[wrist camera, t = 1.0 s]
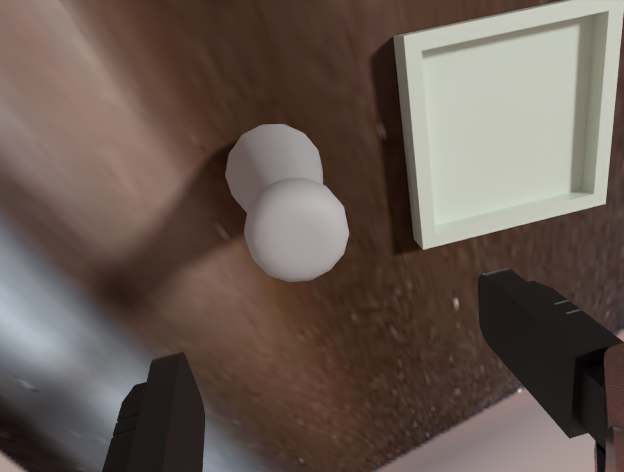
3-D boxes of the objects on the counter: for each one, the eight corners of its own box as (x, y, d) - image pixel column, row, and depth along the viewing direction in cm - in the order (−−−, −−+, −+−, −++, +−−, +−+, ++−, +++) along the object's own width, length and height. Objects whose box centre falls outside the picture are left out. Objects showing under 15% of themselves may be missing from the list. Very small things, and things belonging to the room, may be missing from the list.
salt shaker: (304, 211, 31) (351, 314, 20) (219, 198, 30) (216, 300, 18) (323, 126, 29) (389, 184, 18) (233, 108, 28) (239, 158, 16)
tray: (393, 36, 28) (403, 35, 26) (603, -8, 29) (625, -11, 27) (413, 239, 34) (423, 249, 32) (587, 196, 35) (605, 203, 33)
